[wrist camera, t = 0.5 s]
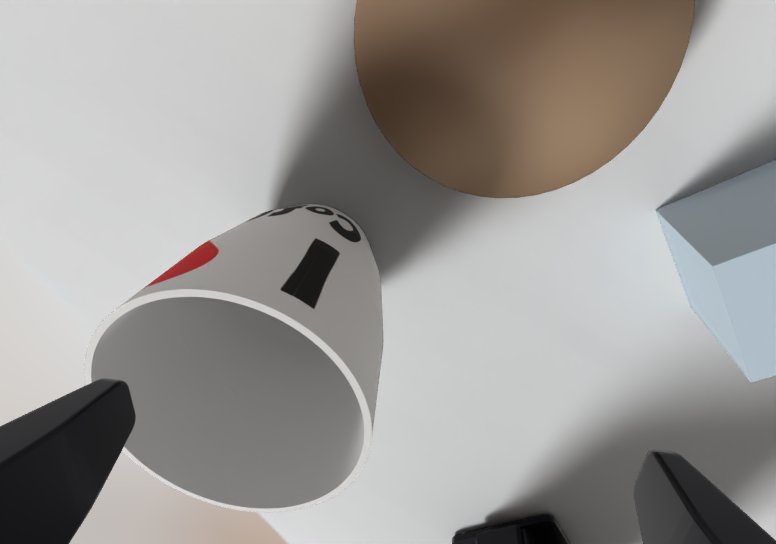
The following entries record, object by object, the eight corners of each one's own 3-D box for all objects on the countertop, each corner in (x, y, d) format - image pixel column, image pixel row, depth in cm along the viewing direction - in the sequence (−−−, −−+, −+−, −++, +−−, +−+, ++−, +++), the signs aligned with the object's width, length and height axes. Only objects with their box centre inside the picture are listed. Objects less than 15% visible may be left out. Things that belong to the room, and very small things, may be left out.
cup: (405, 170, 20) (363, 296, 11) (407, 335, 24) (377, 525, 15) (216, 168, 21) (39, 282, 12) (247, 326, 25) (130, 500, 16)
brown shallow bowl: (699, 96, 17) (734, 108, 15) (445, 218, 20) (443, 242, 18) (601, -232, 14) (629, -279, 11) (313, -21, 17) (292, -26, 15)
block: (823, 259, 19) (929, 331, 15) (689, 305, 21) (750, 382, 17) (797, 149, 18) (910, 193, 13) (654, 209, 19) (712, 266, 15)
